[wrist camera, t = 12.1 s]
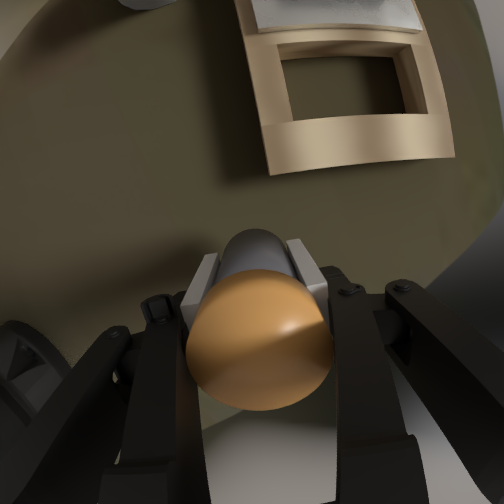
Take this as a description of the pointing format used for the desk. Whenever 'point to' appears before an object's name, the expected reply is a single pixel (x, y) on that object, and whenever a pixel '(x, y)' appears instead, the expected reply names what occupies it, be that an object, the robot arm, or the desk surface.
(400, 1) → the shutter
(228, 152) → the desk surface
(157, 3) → the cup
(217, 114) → the desk surface
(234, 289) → the orange grey cylinder
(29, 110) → the desk surface
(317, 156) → the socket board
